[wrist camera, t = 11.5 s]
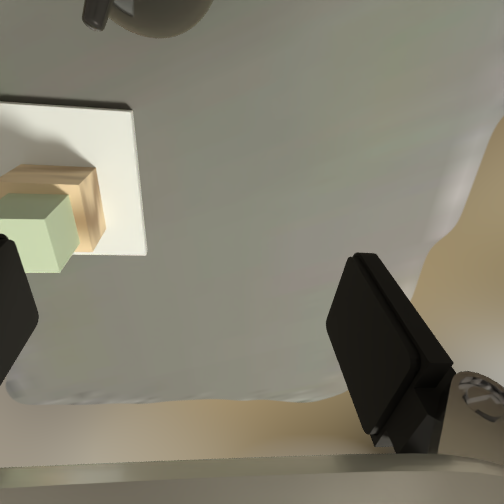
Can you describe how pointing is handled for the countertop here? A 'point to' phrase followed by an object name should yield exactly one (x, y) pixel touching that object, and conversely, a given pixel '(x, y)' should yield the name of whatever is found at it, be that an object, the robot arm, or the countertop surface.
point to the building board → (83, 160)
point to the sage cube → (40, 229)
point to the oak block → (66, 183)
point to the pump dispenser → (146, 15)
